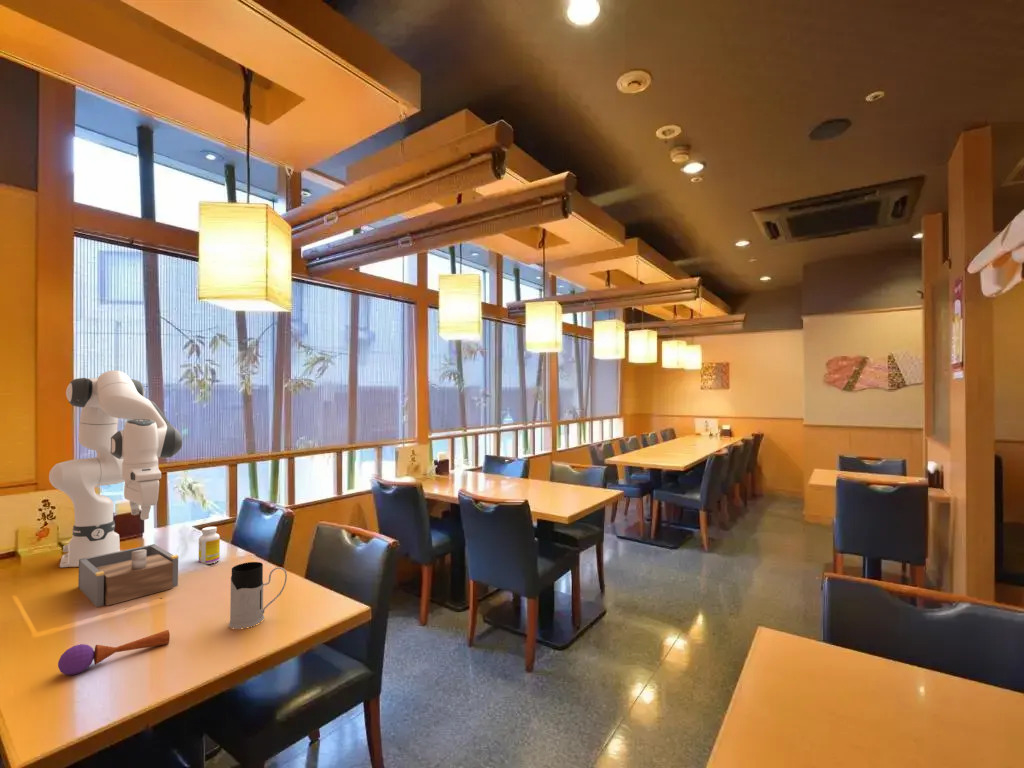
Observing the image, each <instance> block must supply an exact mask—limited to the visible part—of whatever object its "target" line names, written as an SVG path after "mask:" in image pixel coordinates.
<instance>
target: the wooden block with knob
mask: <svg viewBox="0 0 1024 768" xmlns="http://www.w3.org/2000/svg"><path fill="white" fill-rule="evenodd" d="M146 553H147V550H145V549H143V550H136V551H133V552H132V560H128V561H124V562H119V563H114V564H110V565H105V566H101V567H96V568H97V569H98V570H99V571H100V572H101V571H103V572H104V603H105V604H106V605H105V606H111V605H114V604H119V603H122V602H126V601H129V600H130V601H131V600H134V599H137V598H141V597H145V596H149V595H153V594H156V593H159V592H163V591H164V592H165V591H168V590H170V589H173V588H174V587H173V562H171V561H169V560H168V559H166V558H164V557H163V556H161V555H159V554H156V555H151V556H147V557H146Z"/></svg>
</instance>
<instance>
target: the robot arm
mask: <svg viewBox="0 0 1024 768" xmlns="http://www.w3.org/2000/svg"><path fill="white" fill-rule="evenodd" d="M65 390H66V391H65V395H66V399H67V401H68V403H69V404H70V405H71V406H73V407H77V408H81V411H80V416H79V417H80V418H79V426H78V427H79V428H78V442H79V444H80V445H81V446H82V447H84V448H87V449H89V450H92V451H95V452H96V457H95V456H94V457H89V458H77V459H75V458H74V459H70V460H65V461H61V462H59V463H55V464H54V466H52V468H51V469H50V471H49V475H48V480H49V483H50V484H51V485H52V487H53V488H55V489H57V490H59V491H61V492H62V493H64V494H65V495H67V496H68V498H69V499H70V500H71V502H72V505H73V510H74V511H73V512H74V525H73V526H72V527H73V528H72V530H71V531H72V537H71V539H70V540H69V542H68V543H67V544H66V545H63V546H62V547H63V549H62V552H63V553H64V554H63V555H62V556H61V559H60V563H59V568H68V567H69V568H71V567H72V568H73V567H75V568H76V567H78V568H79V559H83V558H88V557H93V556H98V555H103V554H108V553H113V552H118V551H122V550H121V549H120V543H121V542H120V534H119V533H118V532H116V531H115V529H116V528H115V526H116V523H115V520H114V502H113V500H112V498H110V497H108V496H105V495H102V494H99V493H96V490H95V488H96V487H102V486H109V485H110V486H111V485H117V484H121V483H124V490H123V497H124V499H125V500H127V501H129V507H130V515H132V516H137V515H139V516H140V517H139V518H140V520H142V521H146V520H148V519H149V518H150V513H151V512H150V511H151V507H152V506H156V505H157V503H158V501H159V493H160V492H159V491H160V481H159V480H160V479H162V471H161V470H160V468H159V458H172V457H173V456H175V455H176V454H178V453H179V452H180V450H181V449H182V446H183V438H182V435H181V432H180V431H179V430H178V429H176V427H174V426H173V425H172V424H171V422H170V421H169V419H168V418H167V417H166V416H165V414H164V412H162V410H161V409H160V408H159V406H158V405H157V404H156V403H155V401H152V400H150V399H148V398H147V397H145V388H144V384H143V383H142V382H141V381H140V380H138V379H133V378H130V376H129V375H128V374H126V373H125V372H123V371H121V370H115V369H114V370H107V371H105V372H102V374H99V376H98V377H92V378H91V377H90V378H86V377H81V378H80V377H79V378H74V379H73V380H71V381H69V384H68V385H67V387H66V389H65ZM119 419H122V420H127V421H126V422H125V424H124V429H122V430H118V425H119ZM139 506H140V507H139ZM140 509H141V510H140Z"/></svg>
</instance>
